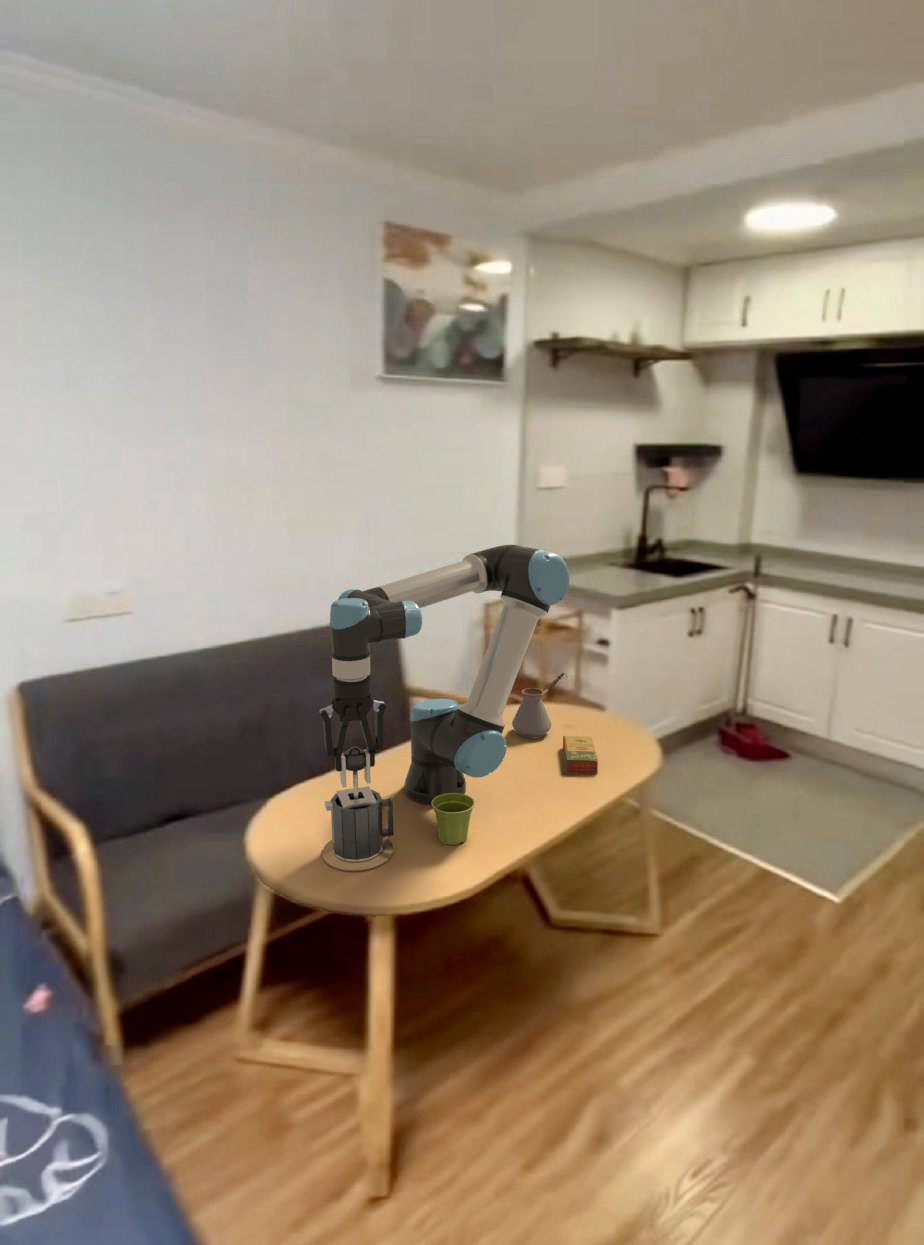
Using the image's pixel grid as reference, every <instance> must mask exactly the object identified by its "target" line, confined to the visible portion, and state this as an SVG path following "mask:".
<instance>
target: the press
mask: <svg viewBox="0 0 924 1245" xmlns="http://www.w3.org/2000/svg"><path fill="white" fill-rule="evenodd" d="M358 795H359V799H355V800H354V791H353V787H352V788H346V789H340V790H336V793H334V795H333V796H332V798H331V799H330V800H326V801H324V807H325V811H326V812H330V813H331V814H330V816H331V818H330V819H331V820H330V821H331V837H332V838H331V840H329V841H328V842H327V843H326V844H325V845H324V847H323V849H322V852H321V853H322V854H321V855H322V859H323V862H324V863H325V864H326V865H327V866H329V867H330V868H332V869H334V870H337V871H342V872H346V873H348V872H349V873H359V872H367V871H371V870H374V869H377V868H380V867H381V866H383V865H385V864H387V863H388V862H389V860H391V858H392V856H394V844H393V843H392V841H391V840H390V839H389V838H388V837H393V836H395V829H394V828H395V826H394V824H395V821H394V800H393V798H392V797H390V798H389V797H388V798H382V796H381V794H380V792H378V791H376V790H373V789H371V788H370V786H369V785H367V786H362V787H358ZM356 807H359V809H354V808H356ZM383 808H386V812H387V813H386V816H387V817H386V818H387V819H386V821H387V823H386V825H387V828H383V825H384V824H383Z"/></svg>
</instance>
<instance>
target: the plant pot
mask: <svg viewBox="0 0 924 1245" xmlns="http://www.w3.org/2000/svg"><path fill="white" fill-rule="evenodd" d="M430 805H431V807H432V808H433V812H434V814H435V819H436V825H437V830H438V832H437V833H438V838H439V841H441V842H443V843H444V844H447V845H449V846H450V845H453V846H455V845H459V844H460V843H461V844H462V843H465V841H467V839H468V834H469V833H468V832H469V827H470V818H471V813H472V812H473V808H475V800H474V799H473V798H472V797H471V796H470V795H467V794H466V793H465V794H460V793H446V794H442V795H439V796H437V797H435V798H434V799H433V800H432V802H431V804H430Z"/></svg>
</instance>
